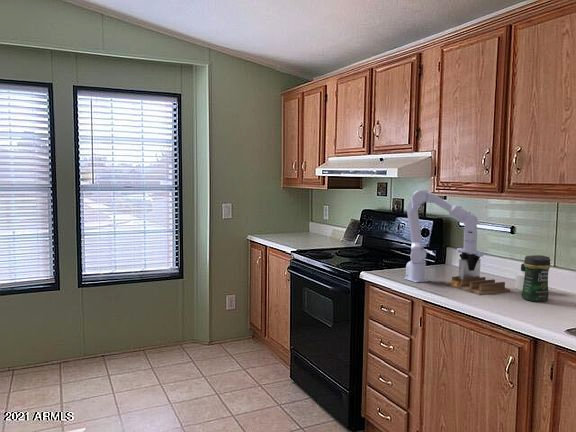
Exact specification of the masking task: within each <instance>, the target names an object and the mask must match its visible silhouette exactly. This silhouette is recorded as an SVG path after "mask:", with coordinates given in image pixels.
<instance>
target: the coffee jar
mask: <svg viewBox="0 0 576 432" xmlns="http://www.w3.org/2000/svg"><path fill="white" fill-rule="evenodd" d="M523 263H524V267H525V277H524V284H523V290H522V291H521V297H522V299H523V300H525V301H529V302H530V301H531V302H538V303H539V302H547V301H548V300H549V271H550V268H551V259H550V257H549V256H546V255H539V254H538V255H537V254H536V255H526V256H525V257H524V262H523Z"/></svg>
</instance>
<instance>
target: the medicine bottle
mask: <svg viewBox="0 0 576 432" xmlns="http://www.w3.org/2000/svg"><path fill="white" fill-rule="evenodd" d="M524 277H525V267H524V262H523V263H521V265H520V273H519V272H518V273H516V274H515V286H514V287H515V290H519V291H521V292H522V290H523V284H524Z"/></svg>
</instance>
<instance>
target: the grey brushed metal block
mask: <svg viewBox="0 0 576 432" xmlns="http://www.w3.org/2000/svg"><path fill="white" fill-rule="evenodd" d="M458 276H459V278H458V279H468V278H478V277H481V258H479V260H478V261H477V263H476V266H475V269H474V271H470V268H469V259H461V258H459V259H458Z"/></svg>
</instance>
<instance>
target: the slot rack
mask: <svg viewBox="0 0 576 432" xmlns="http://www.w3.org/2000/svg"><path fill="white" fill-rule="evenodd" d="M458 278H459V275H458V276H451V280H450V282H447V283H446V286H449V287H452V288H455V289H459V290H462V291H465V292H469V293H471V294H475V295H490V294H497V293H498V294H499V293H508V292H510V291H511V289H510V288H507V287H506V282H505V281H499V282H498V281H497V282H496V279H486V276H480V277H478V278H468V279H458Z"/></svg>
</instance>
